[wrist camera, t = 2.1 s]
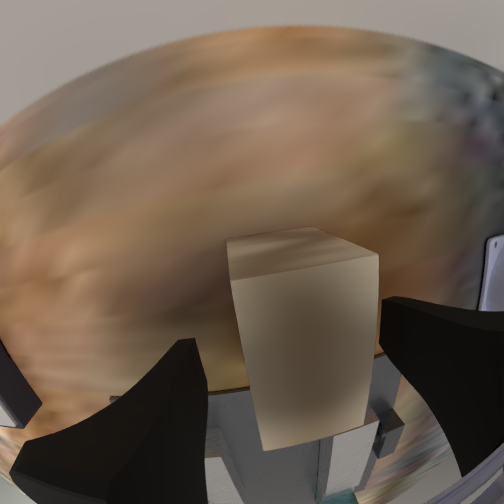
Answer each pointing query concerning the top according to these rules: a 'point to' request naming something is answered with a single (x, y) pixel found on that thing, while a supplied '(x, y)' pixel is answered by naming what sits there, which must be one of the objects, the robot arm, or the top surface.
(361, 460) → the sliding jaw
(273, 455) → the vise base
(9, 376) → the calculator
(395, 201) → the top surface
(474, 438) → the robot arm
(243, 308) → the birch block
